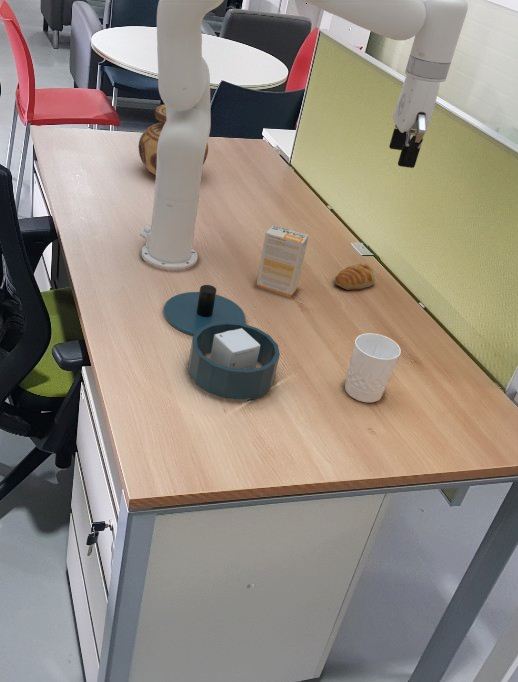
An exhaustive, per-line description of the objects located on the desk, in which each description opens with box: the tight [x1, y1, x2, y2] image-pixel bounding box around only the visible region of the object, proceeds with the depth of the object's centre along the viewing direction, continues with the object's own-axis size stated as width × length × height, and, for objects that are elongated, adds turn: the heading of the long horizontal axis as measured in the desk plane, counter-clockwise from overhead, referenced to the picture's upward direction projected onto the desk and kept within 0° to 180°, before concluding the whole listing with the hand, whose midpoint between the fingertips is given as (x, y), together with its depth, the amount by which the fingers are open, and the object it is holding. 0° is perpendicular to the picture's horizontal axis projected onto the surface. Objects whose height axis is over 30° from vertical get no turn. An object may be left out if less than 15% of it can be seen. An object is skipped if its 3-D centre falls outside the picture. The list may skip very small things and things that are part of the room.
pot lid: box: [163, 284, 246, 337], centre depth 146 cm, size 16×16×7 cm
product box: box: [209, 328, 260, 370], centre depth 131 cm, size 6×6×7 cm
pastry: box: [334, 262, 376, 291], centre depth 166 cm, size 9×7×4 cm
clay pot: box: [138, 103, 209, 176], centre depth 203 cm, size 19×19×20 cm
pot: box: [188, 322, 281, 402], centre depth 132 cm, size 15×15×6 cm
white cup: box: [344, 332, 402, 404], centre depth 131 cm, size 8×8×10 cm
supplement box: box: [255, 224, 309, 297], centre depth 158 cm, size 8×5×13 cm, turn 65°
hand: (401, 157), depth 148 cm, fingers open, 9 cm apart
